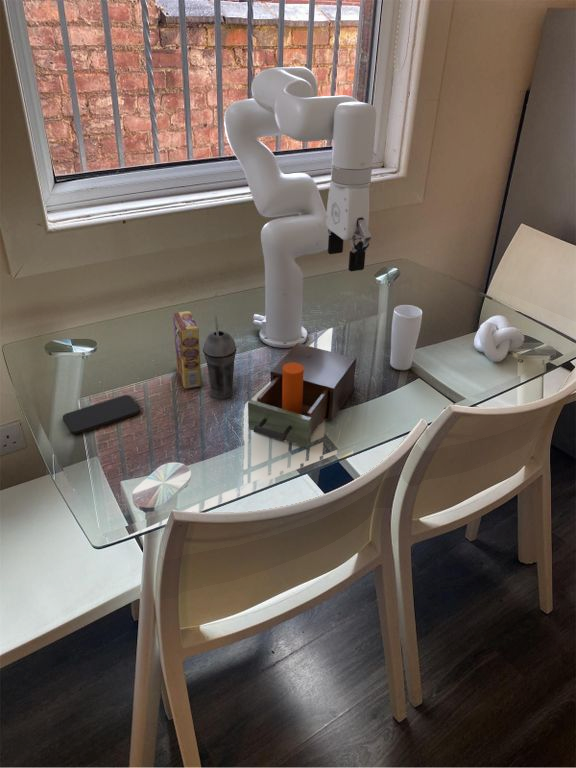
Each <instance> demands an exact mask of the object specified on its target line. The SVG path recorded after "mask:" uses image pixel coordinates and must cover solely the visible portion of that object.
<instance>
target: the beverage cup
mask: <svg viewBox="0 0 576 768" xmlns="http://www.w3.org/2000/svg"><path fill="white" fill-rule="evenodd" d="M214 324H215V325H214V326H215V331H213V332H211V333H210V334H209V335H208V336H206V339H205V341H204V342H203V348H202V352H203V356H204V359H205V361H206V367H207V374H208V380H209V386H210V391H211V395H212V396H213V397H214V398H216V399H219V400H224V399H228V398H230V397H231V396H232V394H233V388H234V387H233V386H234V371H235V358H236V354H237V350H238V349H237V346H236V341H235V339H234V338H233V336H231V334H229V333H228V332H226V331H223V330H219V324H218V317H217V315H216V316H214Z"/></svg>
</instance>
